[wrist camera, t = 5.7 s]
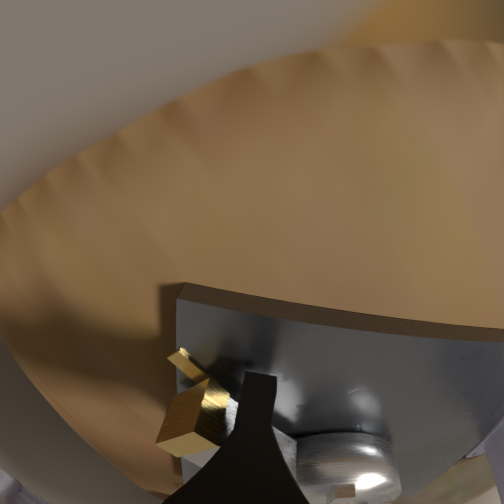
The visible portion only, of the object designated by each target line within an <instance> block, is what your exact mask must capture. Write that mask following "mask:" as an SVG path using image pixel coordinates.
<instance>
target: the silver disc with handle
mask: <svg viewBox="0 0 504 504" xmlns="http://www.w3.org/2000/svg"><path fill="white" fill-rule="evenodd" d="M229 395H230V393H229V392H227V391H226V390H225V389H223V388H222V387H221V386H219V385H218V384H217V383H215V382H214V381H213V380H212V379H210V378H208V379H206V380H205V381H203V382H201V383H199V384H197V385H195V386H193V387H191V388H189V389H187V390H185V391H183V392H181V393H180V394H178V395H176V396H174V397H173V398H172V400H171V403H170V405H169V408H168V411H167V413H166V416H165V418H164V421H163V424H162V426H161V429H160V431H159V434H158V437H157V439H156V442H155V445H157V446H159V447H160V448H162V449H164V450H165V451H167V452H169V453H170V454H172V455H174V456H175V457H183V458H185V459H187V460H188V461H190V462H192V463H194V464H196V465H198V466H200V467H203V466H204V465H205V464H206V463H207V462H208V461H209V460H210V459H211V457H212V456H213V455H214V454H215V453H216V452H217V450H218V449H219V448H220V447H221V445H222V444H223V443H224V442H225V440H226V439H227V437H228V436H229V435H230V433H231V432H232V430H233V429H234V423H235V418H236V413H237V408H238V403H237V402H236V401H234V400H233V399H232V398H230V397H229ZM272 427H273V426H272ZM273 430H274V433H275V436H276V439H277V442H278V445H279V447H280V450H281V452H282V454H283V457H284V459H285V461H286V463H287V465H288V467H289V469H290V471H291V473H292V475H293V477H294V479H295V480H296V482H297V484H298V486H299V487H300V489H301V491H302V492H303V494H304V495H305V497H306V498H307V500H308V501H309V503H310V504H393V501H394V500H395V499H396V498H397V497H398V496H399V495H400V493H401V491H402V489H401V483H400V477H399V472H398V466H397V461H396V456H395V452H394V447H393V445H392V444H391V443H390V442H389V441H388V440H386V439H384V438H382V437H379V436H375V435H371V434H364V433H328V434H318V435H311V436H306V437H300V438H296V439H292V438H290V437H289V436H287V435H286V434H284V433H282V432H281V431H279V430H278V429H276V428H274V427H273Z"/></svg>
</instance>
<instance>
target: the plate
mask: <svg viewBox="0 0 504 504" xmlns="http://www.w3.org/2000/svg"><path fill="white" fill-rule="evenodd" d="M167 359H169V360H170V361H171V362H172V363H173V364H174V365H175V366H176V377H177V395H178V394H180V393H181V392H183V391H185V390H187V389H189V388H191V387H193V386H195V385H197V384H199V383H201V382H203V381H205V380H206V379H208V378H210V379H212V380H213V381H214V382H215V383H217V384H218V385H219V386H221V387H222V388H223V389H225V390H226V391H227V392H229V393H230V395H229V397H230V398H232V399H233V400H234V401H236V402H237V403H239V398H240V393H241V388H242V384H243V379H244V374H245V371H249V372H255V373H260V374H266V375H272V376H277V394H276V400H275V405H274V411H273V416H272V421H271V424H272V426H273V427H274V428H276V429H278V430H279V431H281V432H282V433H284V434H286V435H287V436H289V437H290V438H292V439H296V438H300V437H306V436H311V435H318V434H328V433H364V434H371V435H375V436H379V437H382V438H384V439H386V440H388V441H389V442H390V443H391V444H392V445H393V447H394V452H395V456H396V461H397V466H398V472H399V477H400V483H401V489H402V491H401V493H400V495H399V496H398V497H404V496H410V495H415V494H417V493H418V492H419V491H421V490H422V489H424V488H425V487H426V486H428V485H429V484H430V483H432V482H433V481H434V480H436V479H437V478H438V477H439V476H441V475H442V474H443V473H444V472H446V471H447V470H448V469H449V468H450V467H452V466H453V465H454V464H455V463H456V462H457V461H459V460H460V459H461V458H462V457H463V456H464V455H465V454H466V453H468V452H469V451H470V450H471V449H472V448H473V447H474V446H475V445H476V444H477V443H478V442H479V441H480V440H481V439H482V438H483V437H484V436H485V435H486V434H487V433H488V432H489V431H490V430H491V429H492V428H493V427H494V426H495V425H496V424H497V422H498V421H499V420H500V419H501V418H502V417H503V416H504V329H493V328H481V327H470V326H460V325H450V324H441V323H432V322H423V321H414V320H406V319H398V318H391V317H383V316H376V315H368V314H361V313H354V312H348V311H341V310H334V309H328V308H322V307H315V306H309V305H303V304H297V303H291V302H285V301H279V300H274V299H268V298H262V297H257V296H251V295H246V294H241V293H235V292H230V291H225V290H220V289H215V288H210V287H205V286H200V285H195V284H190V283H185V285H184V287H183V288H182V290H181V292H180V293H179V295H178V297H177V298H176V351H175V352H174V353H172V354H170V355H169V356H168V357H167ZM181 464H182V475H183V484H185V483H187V482H188V481H189V480H190V479H191V478H192V477H193V476H194V475H195V474H196V473H197V472H198V471H199V470H200V469H201V468H202V467H200V466H198V465H196V464H194V463H192V462H190V461H188V460H187V459H185V458H183V457H181ZM398 497H397V498H398Z"/></svg>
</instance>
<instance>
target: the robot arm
mask: <svg viewBox="0 0 504 504" xmlns="http://www.w3.org/2000/svg"><path fill="white" fill-rule="evenodd" d="M276 394H277V376H272V375H266V374H260V373H255V372H249V371H245V374H244V379H243V384H242V388H241V393H240V398H239V403H238V408H237V413H236V418H235V423H234V429H233V430H232V432H231V433H230V435H229V436H228V437H227V439H226V440H225V442H224V443H223V444H222V445H221V447H220V448H219V449H218V450H217V452H216V453H215V454H214V455H213V456H212V457H211V459H210V460H209V461H208V462H207V463H206V464H205V465H204V466H203V467H202V468H201V469H200V470H199V471H198V472H197V473H196V474H195V475H194V476H193V477H192V478H191V479H190V480H189V481H188V482H187V483H185V484H184V485H183V486H182V487H181V488H180V489H178V490H177V491H176V492H175V493H173V494H172V495H171V496H169V497H168V498H167V499H166V500H164V501H163V503H162V504H310V503H309V501H308V500H307V498H306V497H305V495H304V494H303V492H302V491H301V489H300V487H299V486H298V484H297V482H296V480H295V479H294V477H293V475H292V473H291V471H290V469H289V467H288V465H287V463H286V461H285V459H284V457H283V454H282V452H281V450H280V447H279V445H278V442H277V439H276V436H275V433H274V430H273V427H272V424H271V421H272V416H273V411H274V405H275V400H276ZM484 453H486V456H487V459H488V462H489V465H490V467H491V470H492V473H493V476H494V480H495V483H496V486H497V489H498V493H499V496H500V500H501V503H502V504H504V416H503V417H502V418H501V419H500V420H499V421H498V422H497V424H496V425H495V426H494V427H493V428H492V429H491V430H490V431H489V432H488V433H487V434H486V435H485V436H484V437H483V438H482V439H481V440H480V441H479V442H478V443H477V444H476V445H475V446H474V447H473V448H472V449H471V450H470V451H469V452H468V453H466V454H465V456H466V458H469V457H473V456H477V455H481V454H484ZM0 504H51V503H49V502H47V501H46V500H44V499H42V498H41V497H39V496H38V495H36V494H35V493H33V492H32V491H30V490H29V489H27V488H26V487H24V486H23V485H22V484H21V483H20V482H19V481H18V480H17V479H15V478H14V477H13V476H12V475H11V474H9V473H8V472H6V471H5V470H4V469H3V468H1V467H0Z"/></svg>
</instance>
